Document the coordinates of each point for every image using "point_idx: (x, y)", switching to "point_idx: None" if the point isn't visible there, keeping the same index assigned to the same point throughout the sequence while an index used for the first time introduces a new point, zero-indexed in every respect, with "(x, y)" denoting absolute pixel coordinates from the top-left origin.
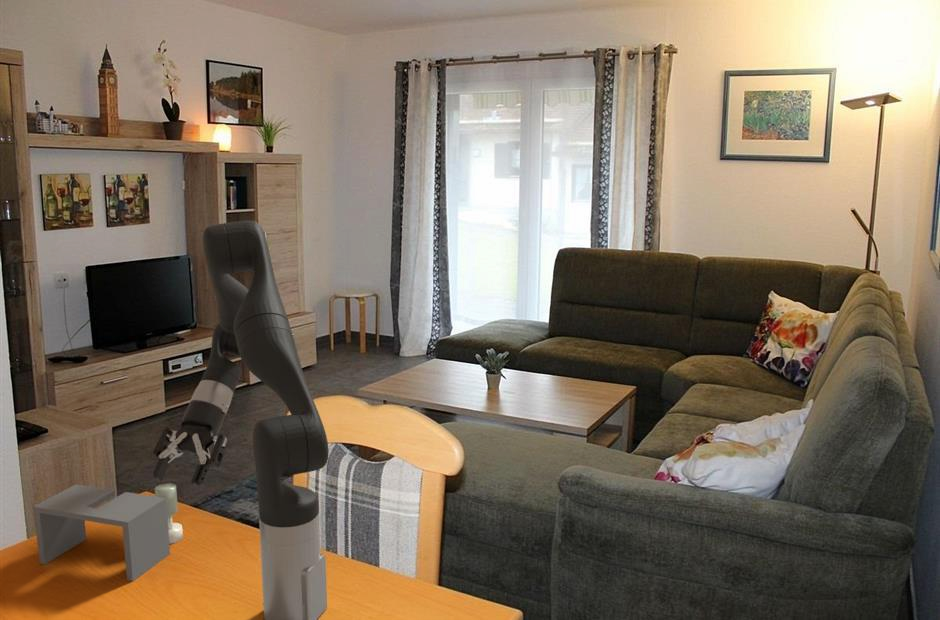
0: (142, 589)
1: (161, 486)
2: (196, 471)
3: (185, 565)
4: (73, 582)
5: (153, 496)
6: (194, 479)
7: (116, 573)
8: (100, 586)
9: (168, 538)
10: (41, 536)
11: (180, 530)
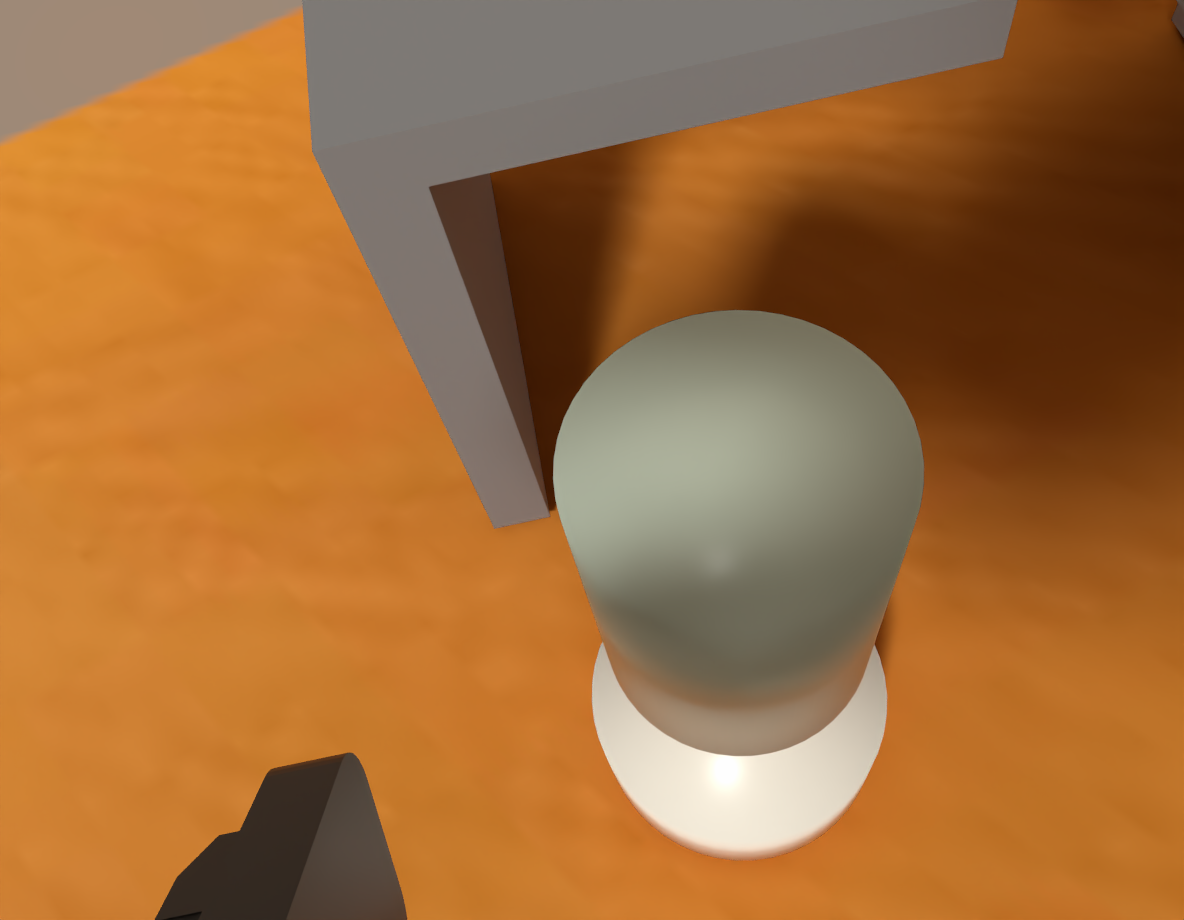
0: None
1: (826, 446)
2: (260, 907)
3: (264, 487)
4: None
5: (521, 101)
6: (278, 788)
7: (641, 195)
8: None
9: (461, 453)
10: None
11: (601, 740)
